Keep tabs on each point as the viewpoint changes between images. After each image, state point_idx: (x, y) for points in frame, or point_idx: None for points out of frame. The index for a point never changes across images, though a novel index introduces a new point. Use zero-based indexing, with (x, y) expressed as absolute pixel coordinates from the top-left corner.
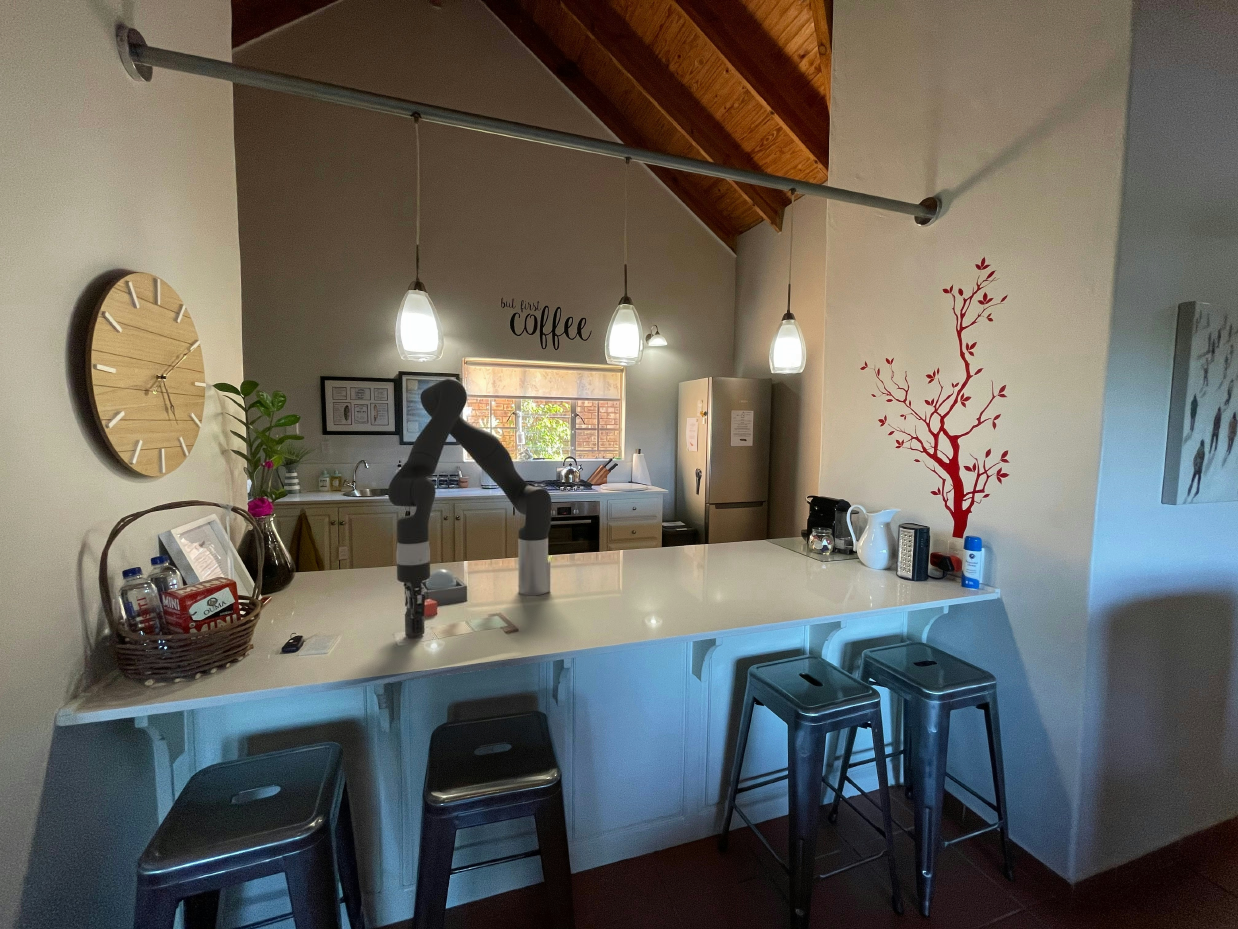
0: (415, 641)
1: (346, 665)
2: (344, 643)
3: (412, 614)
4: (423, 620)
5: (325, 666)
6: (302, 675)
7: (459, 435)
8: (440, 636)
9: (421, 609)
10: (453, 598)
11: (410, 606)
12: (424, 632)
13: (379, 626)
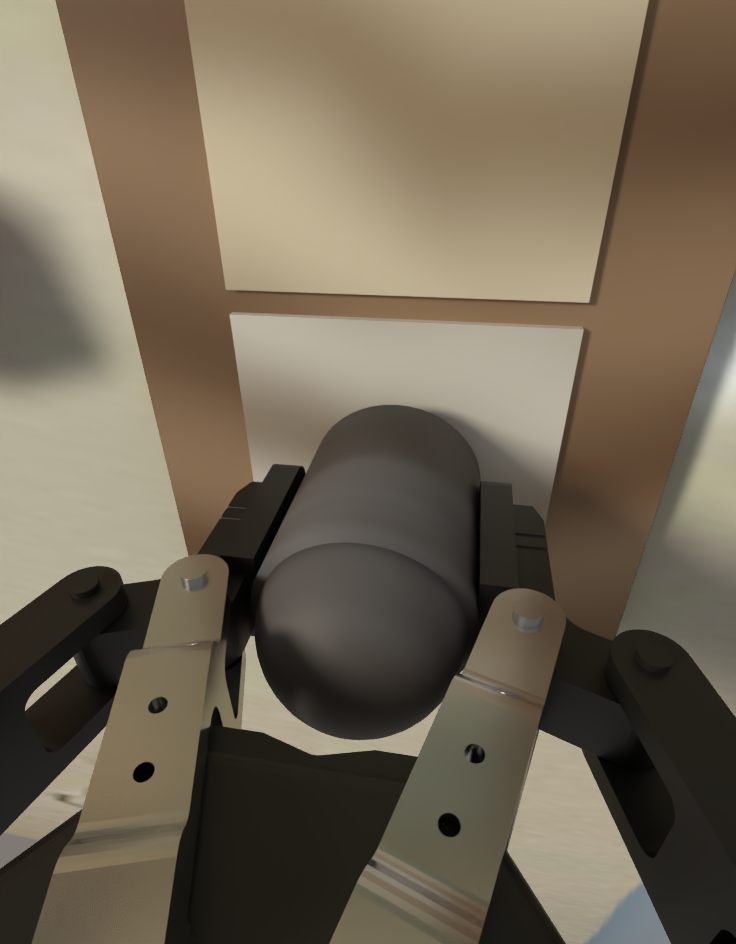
0: (525, 493)
1: (569, 781)
2: (258, 725)
3: (583, 751)
4: (438, 501)
5: (516, 822)
6: (556, 876)
7: None
8: (550, 268)
9: (658, 746)
10: None
11: (509, 840)
12: (422, 411)
13: (35, 558)
